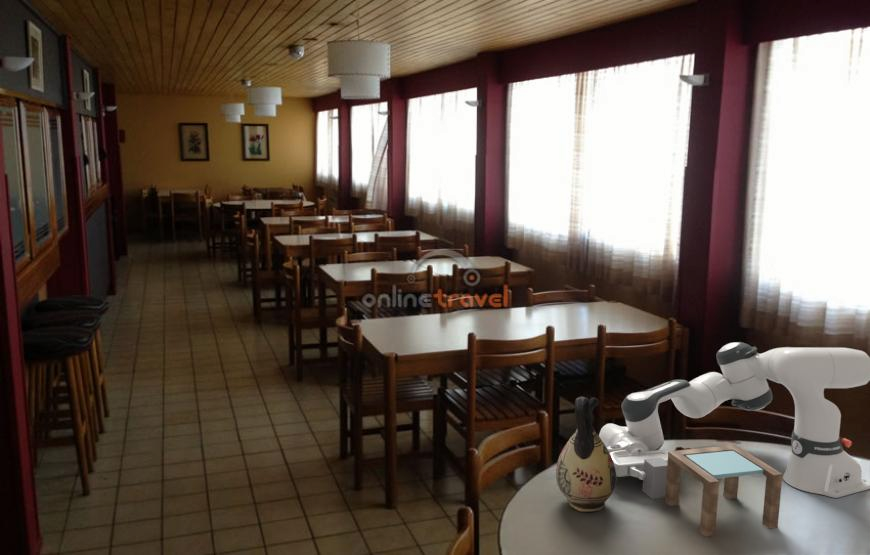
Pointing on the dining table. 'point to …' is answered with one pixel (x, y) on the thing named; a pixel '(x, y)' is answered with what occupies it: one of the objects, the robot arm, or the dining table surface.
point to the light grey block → (655, 477)
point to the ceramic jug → (586, 463)
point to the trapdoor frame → (712, 486)
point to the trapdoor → (725, 464)
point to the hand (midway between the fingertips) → (658, 475)
